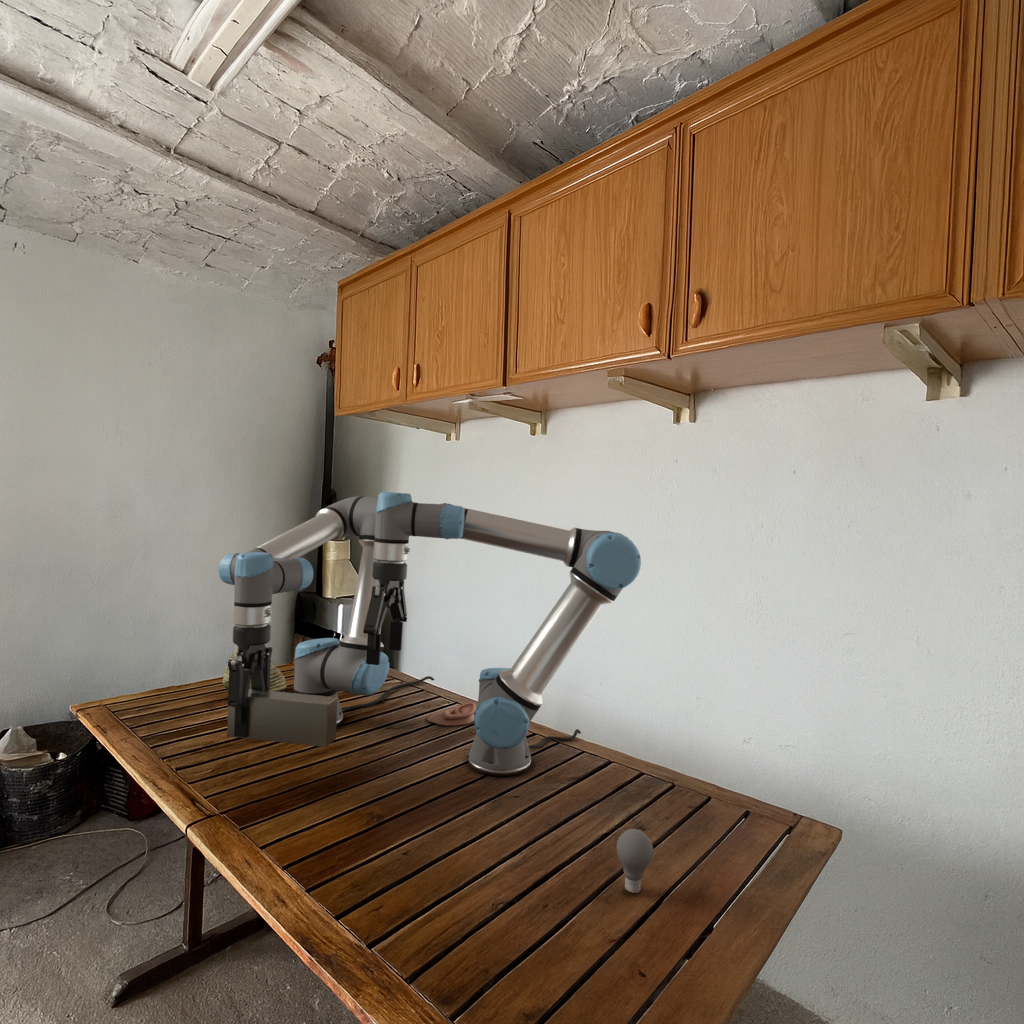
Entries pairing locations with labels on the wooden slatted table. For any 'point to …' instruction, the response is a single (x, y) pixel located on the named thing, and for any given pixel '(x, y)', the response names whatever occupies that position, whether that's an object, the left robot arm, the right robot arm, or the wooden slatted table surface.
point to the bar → (289, 718)
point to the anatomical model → (455, 715)
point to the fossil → (275, 676)
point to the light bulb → (634, 857)
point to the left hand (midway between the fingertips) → (248, 731)
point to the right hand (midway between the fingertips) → (384, 656)
